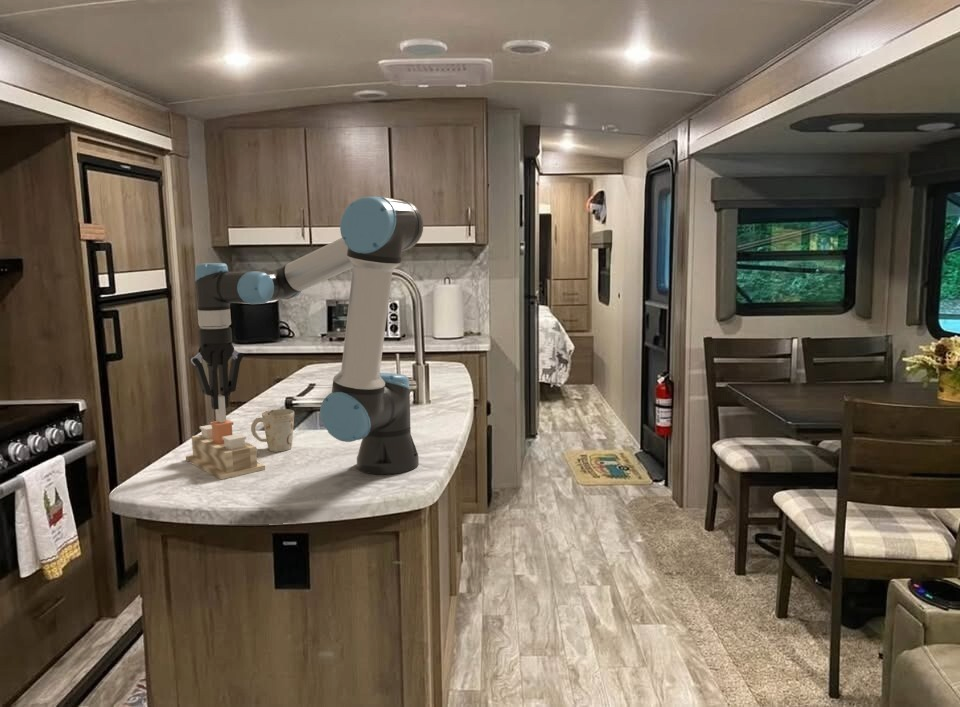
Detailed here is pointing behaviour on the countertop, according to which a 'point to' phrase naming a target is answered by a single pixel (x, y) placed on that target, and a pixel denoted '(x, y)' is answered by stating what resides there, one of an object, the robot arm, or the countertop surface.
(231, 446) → the plug near
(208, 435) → the plug far
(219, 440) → the plug centre
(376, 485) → the countertop surface
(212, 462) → the stepped wooden base
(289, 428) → the mug
